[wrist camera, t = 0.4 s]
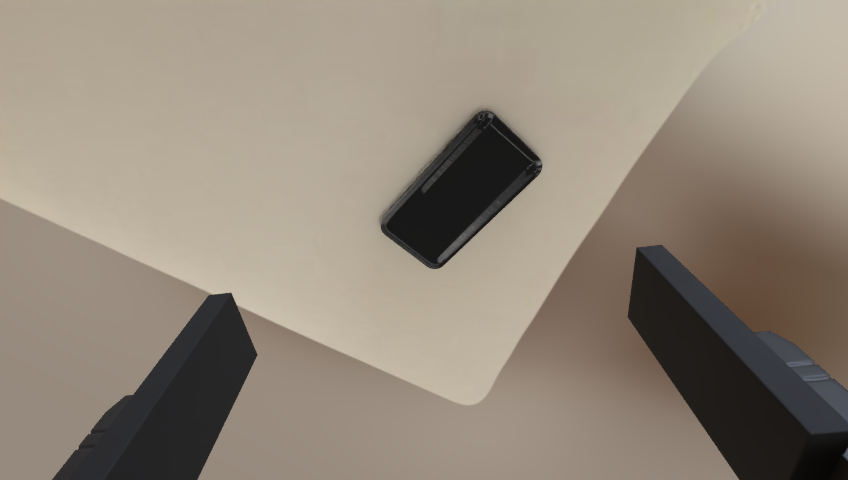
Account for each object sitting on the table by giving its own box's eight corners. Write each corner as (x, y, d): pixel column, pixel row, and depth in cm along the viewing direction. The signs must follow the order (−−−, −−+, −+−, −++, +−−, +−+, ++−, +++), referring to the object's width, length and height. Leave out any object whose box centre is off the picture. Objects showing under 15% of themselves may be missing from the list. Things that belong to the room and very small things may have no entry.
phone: (547, 166, 38) (435, 273, 43) (544, 162, 39) (435, 267, 44) (485, 106, 35) (374, 227, 40) (484, 103, 36) (376, 222, 41)
